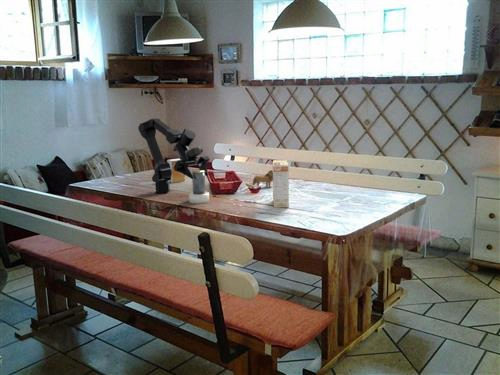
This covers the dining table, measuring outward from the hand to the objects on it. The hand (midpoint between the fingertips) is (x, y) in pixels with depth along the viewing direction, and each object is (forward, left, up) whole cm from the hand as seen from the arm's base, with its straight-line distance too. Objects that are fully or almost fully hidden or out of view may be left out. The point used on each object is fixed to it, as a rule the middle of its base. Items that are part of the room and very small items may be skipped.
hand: (200, 176), depth 237 cm
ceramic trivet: (-1, +1, -12) cm, 12 cm away
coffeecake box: (+39, -4, -12) cm, 41 cm away
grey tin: (-1, +1, -8) cm, 8 cm away
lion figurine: (+28, +34, -12) cm, 45 cm away
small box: (-25, +50, -12) cm, 57 cm away
